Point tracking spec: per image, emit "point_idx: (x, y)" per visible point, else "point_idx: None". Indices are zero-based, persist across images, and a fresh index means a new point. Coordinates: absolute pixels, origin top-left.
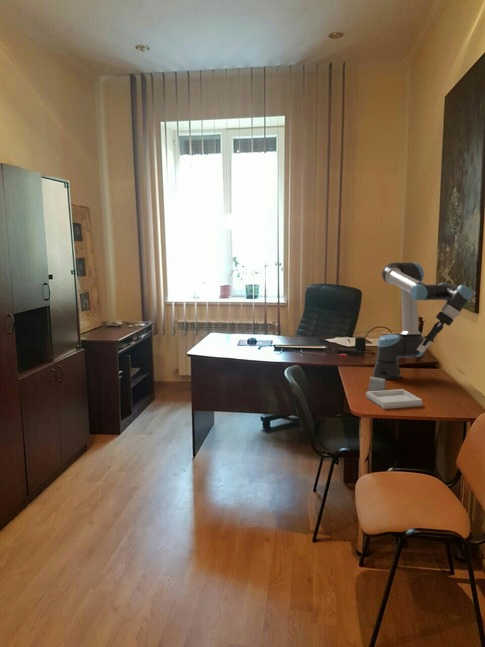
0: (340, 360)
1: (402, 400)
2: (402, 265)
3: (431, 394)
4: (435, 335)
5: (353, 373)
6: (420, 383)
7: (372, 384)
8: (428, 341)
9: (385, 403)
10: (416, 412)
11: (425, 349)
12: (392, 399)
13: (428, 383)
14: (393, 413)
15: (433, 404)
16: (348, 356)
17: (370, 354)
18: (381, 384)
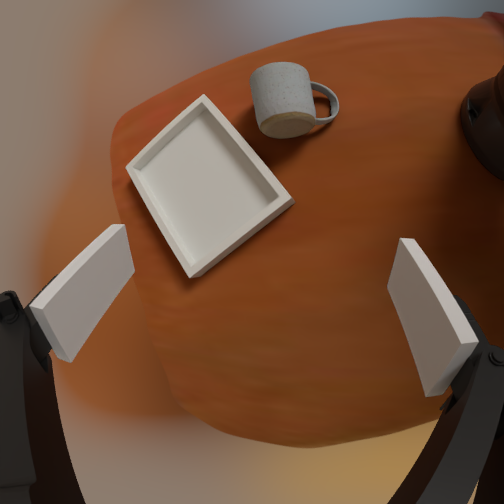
0: None
1: (157, 214)
2: None
3: (352, 312)
4: (388, 502)
5: (452, 37)
6: (478, 263)
7: (251, 89)
8: (55, 343)
9: (129, 172)
10: (142, 262)
11: (396, 307)
12: (201, 179)
13: (487, 294)
14: (118, 204)
15: (231, 316)
16: None
17: None
18: (257, 115)
